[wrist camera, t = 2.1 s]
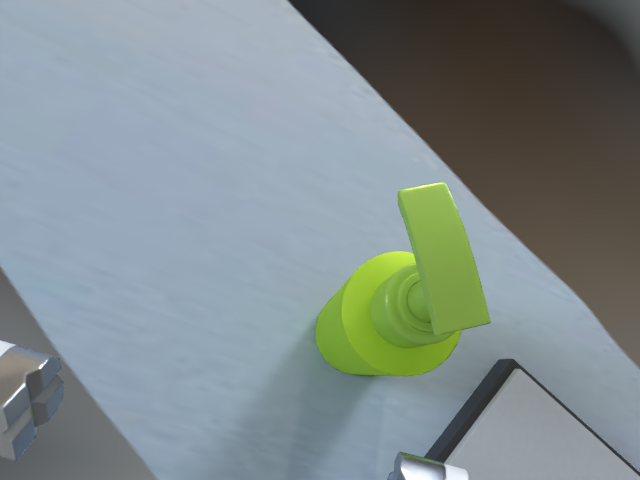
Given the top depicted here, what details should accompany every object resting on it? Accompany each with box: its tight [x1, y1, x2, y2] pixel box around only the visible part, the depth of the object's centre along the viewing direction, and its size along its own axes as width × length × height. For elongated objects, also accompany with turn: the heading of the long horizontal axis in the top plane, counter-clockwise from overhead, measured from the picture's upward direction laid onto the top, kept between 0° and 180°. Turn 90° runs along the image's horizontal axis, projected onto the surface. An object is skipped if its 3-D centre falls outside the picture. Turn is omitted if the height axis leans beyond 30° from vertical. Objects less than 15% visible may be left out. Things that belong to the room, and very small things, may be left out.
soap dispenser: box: [315, 182, 491, 376], centre depth 27 cm, size 6×7×20 cm
